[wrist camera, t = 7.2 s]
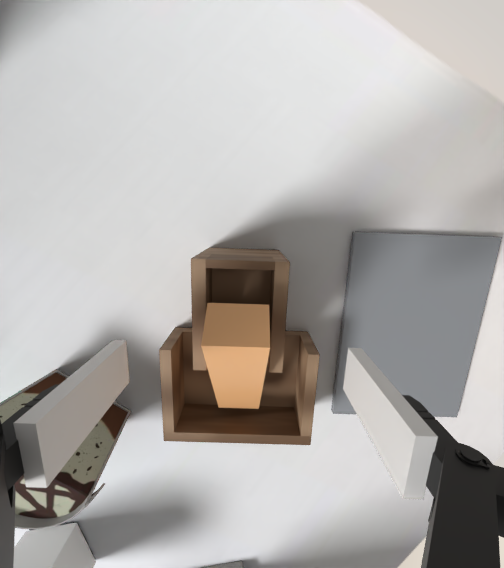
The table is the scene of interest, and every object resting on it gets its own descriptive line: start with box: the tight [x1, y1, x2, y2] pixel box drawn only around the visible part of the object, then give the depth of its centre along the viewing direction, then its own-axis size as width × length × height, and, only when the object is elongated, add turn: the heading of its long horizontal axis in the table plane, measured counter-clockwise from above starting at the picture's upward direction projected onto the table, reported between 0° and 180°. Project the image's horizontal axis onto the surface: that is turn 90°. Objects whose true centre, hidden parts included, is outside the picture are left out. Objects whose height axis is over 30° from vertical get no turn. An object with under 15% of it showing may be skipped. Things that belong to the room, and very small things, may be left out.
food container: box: [0, 369, 131, 529], centre depth 25 cm, size 12×6×10 cm, turn 55°
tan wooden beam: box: [201, 303, 270, 409], centre depth 22 cm, size 14×4×3 cm
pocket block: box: [159, 248, 320, 445], centre depth 24 cm, size 18×14×8 cm
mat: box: [331, 232, 502, 417], centre depth 28 cm, size 20×14×1 cm
